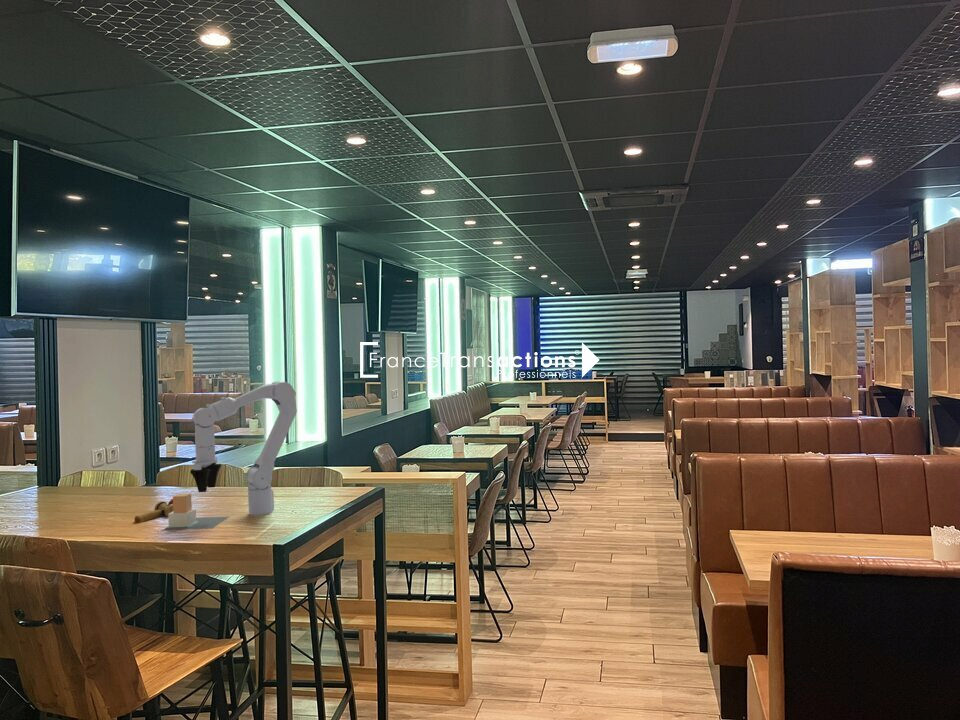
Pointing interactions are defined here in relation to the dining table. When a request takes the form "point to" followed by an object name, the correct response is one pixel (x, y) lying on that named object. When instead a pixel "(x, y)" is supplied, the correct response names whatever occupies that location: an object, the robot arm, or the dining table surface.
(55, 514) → the dining table surface
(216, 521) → the grey flat plate
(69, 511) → the dining table surface
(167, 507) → the kendama
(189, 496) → the terracotta block
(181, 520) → the base block
